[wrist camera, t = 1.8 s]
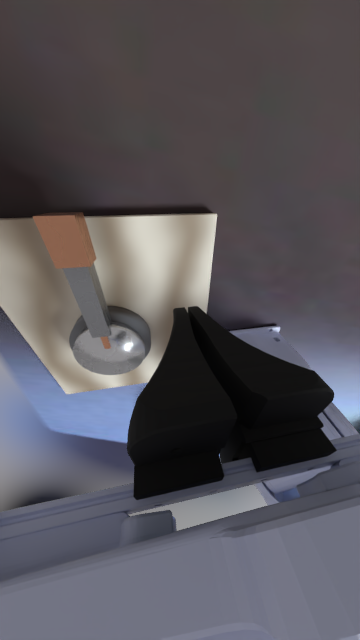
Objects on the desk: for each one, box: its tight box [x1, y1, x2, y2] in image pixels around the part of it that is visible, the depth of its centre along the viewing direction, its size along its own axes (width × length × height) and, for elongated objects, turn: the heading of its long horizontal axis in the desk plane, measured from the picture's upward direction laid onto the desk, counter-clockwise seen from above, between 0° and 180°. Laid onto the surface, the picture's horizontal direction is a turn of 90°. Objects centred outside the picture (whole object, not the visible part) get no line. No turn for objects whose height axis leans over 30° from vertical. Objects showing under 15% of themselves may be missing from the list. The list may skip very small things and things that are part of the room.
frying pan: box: [32, 212, 145, 375], centre depth 15 cm, size 7×16×2 cm, turn 0°
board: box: [0, 213, 217, 394], centre depth 19 cm, size 20×22×2 cm
